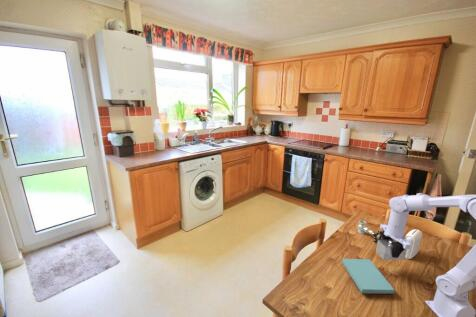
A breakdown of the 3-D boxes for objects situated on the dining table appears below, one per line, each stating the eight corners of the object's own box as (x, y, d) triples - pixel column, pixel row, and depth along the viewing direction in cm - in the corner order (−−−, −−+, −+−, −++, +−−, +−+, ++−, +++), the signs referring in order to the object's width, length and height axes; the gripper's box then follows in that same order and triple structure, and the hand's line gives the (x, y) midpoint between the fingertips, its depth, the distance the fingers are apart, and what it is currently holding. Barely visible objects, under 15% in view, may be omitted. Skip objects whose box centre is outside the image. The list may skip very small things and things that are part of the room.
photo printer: (408, 247, 109) (414, 225, 105) (419, 252, 105) (425, 230, 102) (399, 255, 103) (405, 232, 100) (410, 260, 100) (416, 237, 96)
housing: (404, 259, 90) (408, 245, 88) (383, 259, 90) (386, 245, 88) (395, 251, 95) (399, 237, 93) (375, 251, 95) (378, 237, 93)
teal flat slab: (393, 296, 81) (394, 289, 80) (360, 295, 81) (361, 289, 80) (368, 265, 97) (369, 259, 96) (341, 264, 97) (342, 258, 96)
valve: (353, 231, 122) (373, 244, 111) (355, 221, 120) (375, 232, 109) (361, 229, 124) (382, 241, 114) (363, 218, 122) (384, 230, 112)
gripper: (375, 215, 96) (370, 241, 99) (400, 234, 82) (393, 265, 85) (391, 214, 96) (385, 241, 99) (418, 234, 82) (411, 264, 85)
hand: (390, 252), depth 92 cm, fingers closed on housing, 5 cm apart
